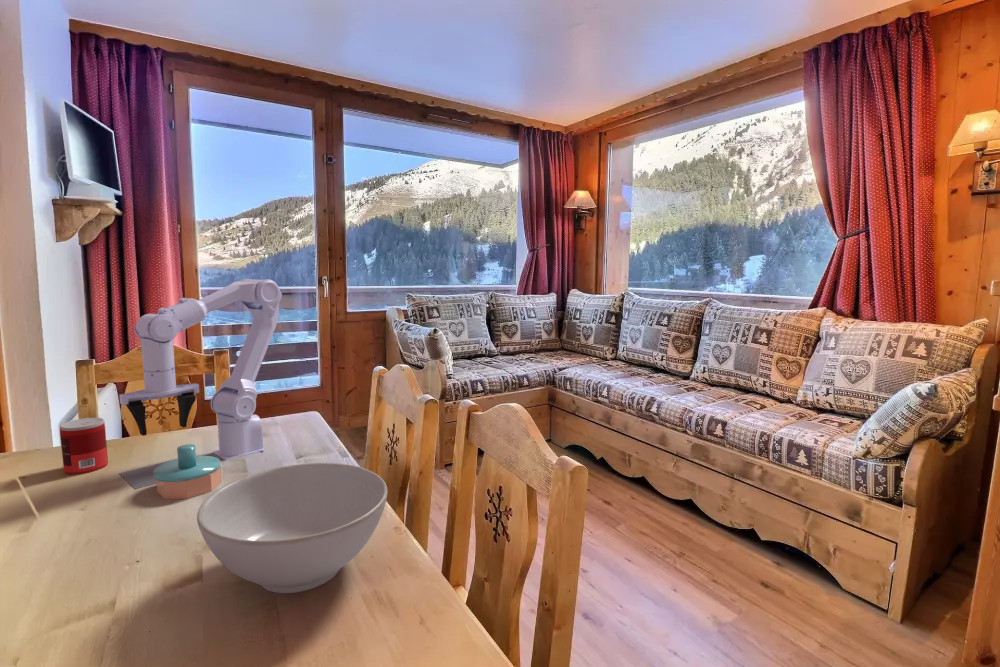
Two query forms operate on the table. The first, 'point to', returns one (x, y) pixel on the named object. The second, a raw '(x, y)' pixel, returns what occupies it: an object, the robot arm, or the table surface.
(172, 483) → the ramekin
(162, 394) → the robot arm
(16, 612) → the table surface
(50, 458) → the table surface
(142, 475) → the mat
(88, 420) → the canned food
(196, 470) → the lid
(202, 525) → the decorative bowl
